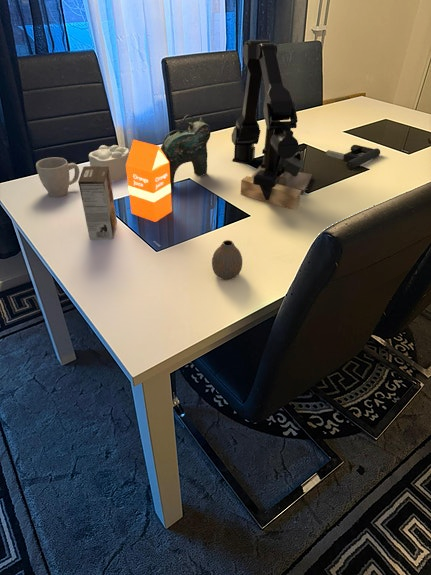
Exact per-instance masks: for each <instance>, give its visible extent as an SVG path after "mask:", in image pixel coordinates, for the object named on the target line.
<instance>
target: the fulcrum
mask: <svg viewBox="0 0 431 575" xmlns="http://www.w3.org/2000/svg"><path fill="white" fill-rule="evenodd" d="M260 170H263V171H264V170H265V168H261V165H259V166H258V167H257V169H256V170H255V171H254V173H253V174H252V175H251V177H253V178H254V176H255V175H256V173H257V172H258V171H260ZM312 177H313V174H312V173H309V172H308V173H307V172H300V171H299V173H298V175H297V176H296V177H294V176H292V175H291V174H290V173H288V172H286V171H285V172H284V173H283V174H282V175H280V176H279V179H278V180H279V182H278V183H277V184H279V185H283V186H287V187H291V188H294V189H298V190H301V195H304V194H305V192H306V190H307V189H308V186H309V185H310V182H311V180H312Z"/></svg>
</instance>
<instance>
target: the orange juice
mask: <svg viewBox="0 0 431 575" xmlns="http://www.w3.org/2000/svg"><path fill="white" fill-rule="evenodd" d="M126 171H127V177H126V179H127V188H128V195H129V203H130V211H131V212H130V213H131V214H132V215H135V216H137V217H140V218H142V219H146V220H148V221H151V222H155V223H156V222H158V221H160V220H161V219H163V218H164V217H166V216H167V215H169V214H170V213H172V210H173V209H172V206H173V205H172V187H171V183H170V167H169V161H168V160H167V158H166V156H165V155H164V153H163V152H162V150H161V146H160V145H156V144H152V143H148V142H144V141H140V140H136V139H132V143H131V147H130V149H129V156H128V160H127V163H126Z"/></svg>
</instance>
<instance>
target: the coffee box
mask: <svg viewBox="0 0 431 575" xmlns="http://www.w3.org/2000/svg"><path fill="white" fill-rule="evenodd" d="M80 172H81V173H80V174H79V177H78V180H77V181H78V187H79V188H78V189H79V193H80V196H81V197H80V198H81V202H82V207H83V212H84V218H85V222H86V227H87V232H88V238H89V240H113V239H115V234H116V229H117V228H116V227H117V224H118V219H117V213H116V212H117V211H116V207H115V200H114V193H113V187H112V182H111V180H110V173H109V167H100V166H90V165H89V166H88V165H87V166H85V165H84V166H83V167H82V170H81V171H80Z"/></svg>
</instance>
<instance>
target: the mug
mask: <svg viewBox="0 0 431 575" xmlns="http://www.w3.org/2000/svg"><path fill="white" fill-rule="evenodd" d="M35 168H36V172H37V174H38V175H37V176H38V177H39V180H40V182H41V184H42V186H43V188H44V189H45V190H46V192H48V194H49V196H50V197H52V198H59V197H64V196H66V195H68V193H69V187H70V186H71V185H73V184H74V183H76V182H77V181H79V178H80V174H81V173H80V172H81V171H80V169H79V165H78V164H76V163H75V162H70V163H69V162H68V161H67V159H65V158H64V157H58V156H57V157H56V156H55V157H53V156H52V157H47V158H42V159H40V160H38V161H36V163H35ZM73 169H74V175H73V178H72V179H71V180H70V170H73Z"/></svg>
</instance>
